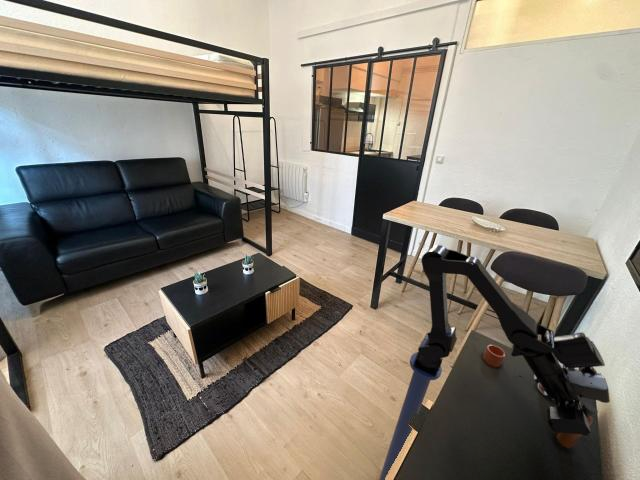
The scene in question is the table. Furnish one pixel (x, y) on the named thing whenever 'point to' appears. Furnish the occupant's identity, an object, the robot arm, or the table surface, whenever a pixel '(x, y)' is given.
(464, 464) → the table surface
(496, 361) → the pot
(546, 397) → the robot arm
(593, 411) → the spice bottle
